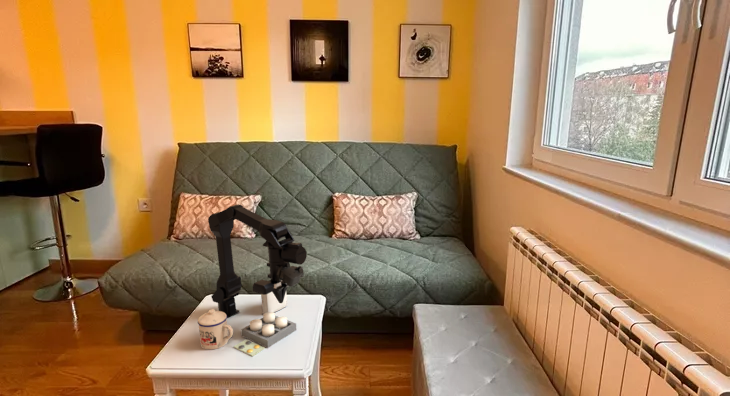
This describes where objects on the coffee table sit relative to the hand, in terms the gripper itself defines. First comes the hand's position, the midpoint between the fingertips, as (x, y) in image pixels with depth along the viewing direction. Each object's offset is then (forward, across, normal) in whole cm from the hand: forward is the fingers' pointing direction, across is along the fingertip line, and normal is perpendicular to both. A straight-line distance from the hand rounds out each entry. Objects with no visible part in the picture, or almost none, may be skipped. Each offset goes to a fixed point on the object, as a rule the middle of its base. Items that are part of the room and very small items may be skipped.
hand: (280, 302), depth 139 cm
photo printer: (+10, +10, +14) cm, 20 cm away
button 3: (+8, -1, +6) cm, 10 cm away
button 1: (+8, -7, +6) cm, 12 cm away
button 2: (+8, -7, 0) cm, 11 cm away
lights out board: (+10, -7, +3) cm, 13 cm away
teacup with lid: (+10, -17, +12) cm, 24 cm away
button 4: (+8, -1, 0) cm, 8 cm away
